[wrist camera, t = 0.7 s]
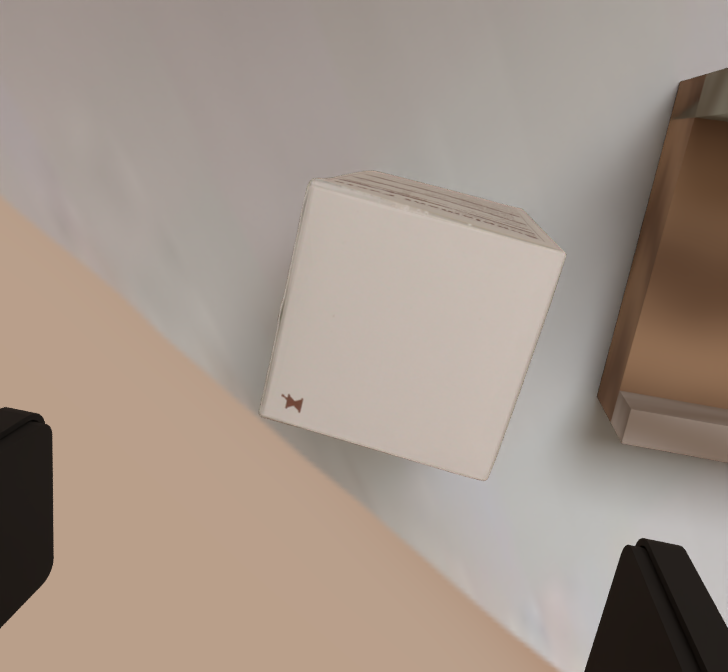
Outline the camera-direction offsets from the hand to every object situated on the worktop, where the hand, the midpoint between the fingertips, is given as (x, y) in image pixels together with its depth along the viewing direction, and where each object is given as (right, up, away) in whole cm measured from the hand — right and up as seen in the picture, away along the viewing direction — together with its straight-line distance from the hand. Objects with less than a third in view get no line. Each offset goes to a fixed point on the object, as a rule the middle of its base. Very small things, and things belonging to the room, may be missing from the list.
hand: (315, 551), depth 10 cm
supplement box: (+4, +7, +20) cm, 21 cm away
